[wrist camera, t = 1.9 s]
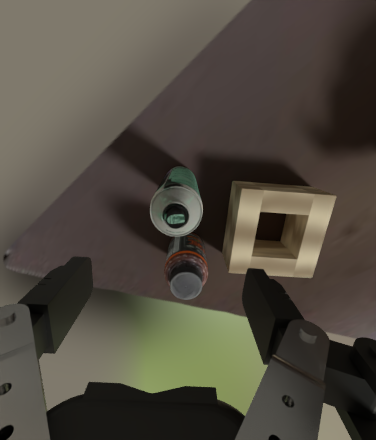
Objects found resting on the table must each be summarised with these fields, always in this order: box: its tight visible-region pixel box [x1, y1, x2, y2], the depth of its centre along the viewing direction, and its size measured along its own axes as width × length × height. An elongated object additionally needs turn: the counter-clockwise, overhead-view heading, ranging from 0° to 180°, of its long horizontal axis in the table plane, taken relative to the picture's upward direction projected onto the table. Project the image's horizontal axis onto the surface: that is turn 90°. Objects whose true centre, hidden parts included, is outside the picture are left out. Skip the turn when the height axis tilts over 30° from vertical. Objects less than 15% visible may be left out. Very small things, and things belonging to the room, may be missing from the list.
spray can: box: [150, 166, 203, 237], centre depth 30 cm, size 6×6×20 cm
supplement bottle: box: [164, 232, 208, 300], centre depth 37 cm, size 7×7×13 cm
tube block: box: [222, 181, 336, 278], centre depth 38 cm, size 14×14×7 cm
